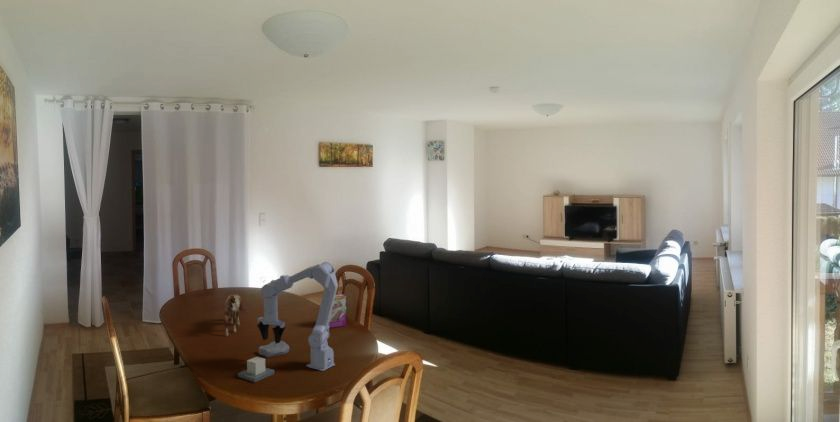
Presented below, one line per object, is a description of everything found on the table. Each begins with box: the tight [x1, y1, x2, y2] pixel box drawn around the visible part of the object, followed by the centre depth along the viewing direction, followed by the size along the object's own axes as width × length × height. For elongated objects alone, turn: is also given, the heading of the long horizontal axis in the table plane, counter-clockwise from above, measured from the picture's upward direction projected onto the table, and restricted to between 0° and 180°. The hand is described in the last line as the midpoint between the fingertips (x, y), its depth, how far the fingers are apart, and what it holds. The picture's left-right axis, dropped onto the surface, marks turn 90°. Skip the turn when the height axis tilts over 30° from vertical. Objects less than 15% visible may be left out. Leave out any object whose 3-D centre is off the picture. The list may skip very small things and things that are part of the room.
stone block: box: [258, 340, 290, 358], centre depth 234 cm, size 12×5×10 cm
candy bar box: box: [328, 294, 347, 329], centre depth 271 cm, size 11×5×16 cm, turn 120°
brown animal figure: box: [223, 294, 247, 337], centre depth 266 cm, size 31×8×21 cm, turn 10°
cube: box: [246, 356, 266, 375], centre depth 209 cm, size 5×5×5 cm
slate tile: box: [237, 366, 275, 383], centre depth 209 cm, size 10×10×2 cm
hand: (271, 341), depth 222 cm, fingers open, 7 cm apart
